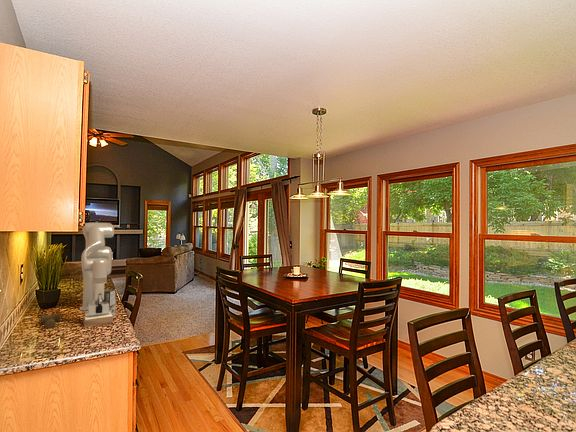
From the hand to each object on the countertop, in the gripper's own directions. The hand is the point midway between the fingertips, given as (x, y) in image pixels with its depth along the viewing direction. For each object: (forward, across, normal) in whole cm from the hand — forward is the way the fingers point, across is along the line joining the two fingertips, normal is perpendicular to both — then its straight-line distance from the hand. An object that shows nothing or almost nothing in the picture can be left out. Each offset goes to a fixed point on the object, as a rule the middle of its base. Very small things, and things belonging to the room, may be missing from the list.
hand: (98, 311), depth 188 cm
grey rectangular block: (+7, -13, -22) cm, 27 cm away
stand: (+7, 0, 0) cm, 7 cm away
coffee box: (+7, -14, +6) cm, 17 cm away
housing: (+1, 0, 0) cm, 1 cm away
